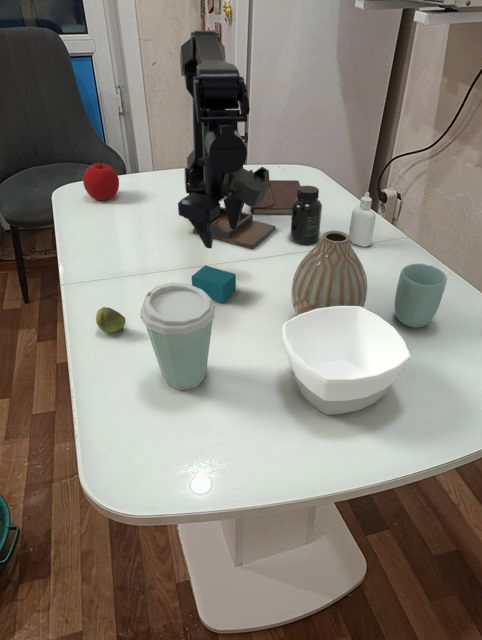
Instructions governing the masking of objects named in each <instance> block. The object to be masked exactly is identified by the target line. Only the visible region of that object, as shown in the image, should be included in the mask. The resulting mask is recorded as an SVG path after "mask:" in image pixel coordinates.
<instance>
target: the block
mask: <svg viewBox="0 0 482 640" xmlns="http://www.w3.org/2000/svg"><path fill="white" fill-rule="evenodd" d="M191 285H192V286H194V287H197V288H199V289H202V290H203V291H204V292H205V293H206V294H207V295H208V296H209V297H210V298H211V299H212V300H213V301H214V302H217V303H220V304H225V303H226V302H227V301H229V300H230V298H231V297H232V296H233V295H234V294H235V293H236V292H237V274H236V273H234V272H230V271H226V270H223V269H220V268H216V267H213V266H209V265H206V264H205V265H204V266H202V267H201V268H199V270H197V271H196V272H195V273H194V274H193V275H191Z"/></svg>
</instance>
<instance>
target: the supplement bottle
mask: <svg viewBox="0 0 482 640" xmlns="http://www.w3.org/2000/svg"><path fill="white" fill-rule="evenodd" d="M300 186H301V187H299V188H298V189H297V199H295V200H294V202H293V203H292V214H290V215H291V216H290V235H289V236H290V239H291V240H292V241H293V242H294V243H296V244H300V245H312V244H315V243H317V242H318V241H319V239H320V234H321V233H320V232H321V221H322V209H323V204H322V202H321V200H319V197H320V196H319V195H320V190H319V188H318V187H316V186H314V185H300Z"/></svg>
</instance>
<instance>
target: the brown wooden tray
mask: <svg viewBox="0 0 482 640" xmlns="http://www.w3.org/2000/svg"><path fill="white" fill-rule="evenodd" d="M219 216H221V217H220V218H219V219H218V220H217V221H216V222H215V223H214V232H213V240H217V241H220V242H224V243H228V244H231V245H236V246H239V247H243V248H246V249H250V250H254V249H255V248H256V247H257V246H258V245H259V244H261V243H262V242H263V241H264V240H265V239H266V238H268V237H269V236H270V235H271V234H272V233H273V232H275V231H276V228H277V227H276V225H275V224H270V223H265V222H261V221H258V220H254V214H252V213H249V212H243V211H242V212H241V216H240V219H239V222H238V226H237V229H235V230H234V229H231V227H230V224H229V221H228V217H227V213H226V209H225V207H222V206H220V212H219ZM192 234H194V235H198V233H197V231H196V230H195V228H194V227H193V229H192Z"/></svg>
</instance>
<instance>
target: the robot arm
mask: <svg viewBox="0 0 482 640" xmlns="http://www.w3.org/2000/svg"><path fill="white" fill-rule="evenodd" d="M225 47H226V46H225V45H224V44H223V43H222V42H221V36H220V32H218V31H217V32H216V31H215V30H200V29H198V30H194V31H191V32H190V38H189V39H188V40H187V41H185V42H184V43H183V44H182V45H181V46H180V53H179V54H180V55H179V58H180V59H179V63H180V73H181V76H182V77H184V83H185V89H186V90H187V92H188V93H189V94H190V96H191V101H192V144H193V145H192V147H193V148H192V151H191V152H190V153H189V154H188V156H187V157H186V167H184V172H183V173H184V175H183V178H184V180H183V181H184V188H185V193H186V194H188V195H186V196H185V197H183V198H181V200H179V201H178V203H177V210H178V216H179V217H183V218H184V219H187V220H188V221H189V222H190V224H191V225H192V227H193V229H194V228H195V230H196V231H197V233H198V234H197V236H199V238H200V240H201V241H202V243H203V245H204V247H205V248H206V249H212V248H213V242H214V239H213V232H214V223H215V222H216V221H217V220H218V219H219V218H220V217H221V216H219V212H220V207H221V202H222V201H223V204H224V208H225V209H226V213H227V217H228V221H229V224H230V227H231V229H234V230H235V229H237V226H238V222H239V219H240V216H241V212H243V210H244V207H245V205H246V206H247V207H250V208H251V207H254V206H256V204H257V203H259V202H260V201H262V200H263V198H264V195H265V193H266V191H267V190H268V189H269V188H270V181H269V180H270V171H269V169H267V168H265V167H264V166H261V167H260V168H257V170H255V171H254V170H253V169H250V170H247V169H246V168H244V165H245V163H246V161H247V159H248V158H247V157H248V149H247V146H246V143H245V141H244V140H243V138H242V136H241V135H240V133H239V128H238V127H239V126H238V123H247V122H248V115H249V114H250V110H251V109H250V100H249V94H248V86H247V83H246V82H245V78H244V77H243V76H240V71H239V69H238V68H237V66H236V65H235V64H233V63H231V62H227V60H226V59H227V58H226V48H225Z"/></svg>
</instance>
